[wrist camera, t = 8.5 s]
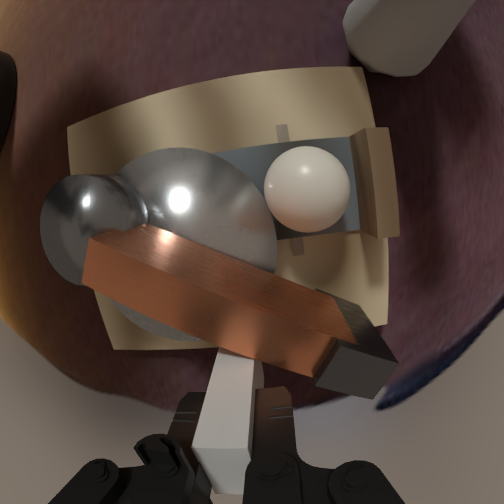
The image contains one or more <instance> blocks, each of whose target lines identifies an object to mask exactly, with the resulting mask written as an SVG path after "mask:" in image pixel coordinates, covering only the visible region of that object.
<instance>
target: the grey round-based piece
mask: <svg viewBox="0 0 504 504" xmlns="http://www.w3.org/2000/svg"><path fill="white" fill-rule="evenodd" d="M40 235H41V241H42V245H43V248H44V251H45V254H46V256H47V258H48V260H49V262H50V263H51V265H52V266H53V268H54V269H55V270H56V271H57V272H58V273H59V274H60V275H61V276H62V277H63V278H64V279H66V280H67V281H69V282H71V283H73V284H76V285H79V286H88V287H90V288H92V289H94V290H96V291H97V292H99V293H101V294H103V295H105V296H107V297H109V298H110V300H111V301H112V303H113V304H114V305H115V306H116V307H117V308H118V309H119V311H120V312H121V313H122V314H123V315H125V316H126V317H127V318H128V319H129V320H130V321H132V322H133V323H135V324H136V325H138V326H139V327H141V328H143V329H145V330H146V331H148V332H150V333H153V334H155V335H158V336H161V337H164V338H168V339H172V340H180V341H199V340H204V341H207V342H209V343H212V344H214V345H217V346H220V347H222V348H225V349H228V350H230V351H233V352H236V353H238V354H241V355H244V356H247V357H250V358H253V359H256V360H258V361H261V362H264V363H267V364H270V365H274V366H277V367H280V368H283V369H286V370H289V371H293V372H296V373H299V374H303V375H306V376H310V377H313V380H314V385H315V386H317V387H321V388H325V389H329V390H333V391H337V392H341V393H345V394H349V395H354V396H358V397H363V398H368V399H374V397H375V396H376V395H377V393H378V392H379V391H380V390H381V388H382V387H383V385H384V384H385V383H386V381H387V380H388V379H389V377H390V376H391V374H392V373H393V372H394V370H395V369H396V367H397V366H398V364H399V363H398V361H397V359H396V358H395V356H394V355H393V353H392V352H391V350H390V349H389V347H388V346H387V344H386V343H385V341H384V340H383V338H382V337H381V336H380V334H379V333H378V331H377V330H376V328H375V327H374V325H373V324H372V322H371V321H370V320H369V318H368V317H367V315H366V314H365V312H364V311H363V310H362V308H361V307H360V305H358V304H355V303H353V302H350V301H348V300H345V299H342V298H340V297H337V296H335V295H332V294H330V293H327V292H324V291H322V290H319V289H317V288H315V290H313V289H310V288H308V287H305V286H303V285H300V284H298V283H295V282H293V281H290V280H287V279H285V278H282V277H280V276H277V275H275V274H274V273H275V269H276V263H277V237H276V231H275V226H274V221H273V217H272V214H271V211H270V210H269V208H268V206H267V203H266V200H265V198H264V196H263V194H262V193H261V192H260V190H259V189H258V187H257V186H256V185H255V183H254V182H253V181H252V180H251V179H250V178H249V177H248V176H247V175H246V174H245V173H243V172H242V171H241V170H240V169H239V168H237V167H236V166H234V165H232V164H231V163H229V162H228V161H226V160H224V159H222V158H220V157H218V156H216V155H213V154H211V153H209V152H205V151H201V150H198V149H192V148H183V147H178V148H165V149H159V150H155V151H152V152H149V153H146V154H144V155H142V156H140V157H138V158H136V159H134V160H132V161H131V162H129V163H128V164H127V165H125V166H124V167H123V168H122V169H120V170H119V171H118V172H117V173H116V174H115V175H104V174H78V175H71V176H67V177H65V178H63V179H61V180H60V181H59V182H57V183H56V184H55V185H54V186H53V187H52V189H51V190H50V191H49V193H48V195H47V196H46V199H45V201H44V204H43V207H42V211H41V216H40Z"/></svg>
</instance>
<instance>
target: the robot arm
mask: <svg viewBox="0 0 504 504" xmlns="http://www.w3.org/2000/svg"><path fill="white" fill-rule="evenodd" d="M15 89H16V68H15V63H14V60H13V58H12V57H11V56H10V55H9V54H8V53H5V52H2V51H0V150H1V147H2V144H3V142H4V138H5V135H6V132H7V128H8V125H9V121H10V117H11V113H12V108H13V103H14V97H15ZM134 450H135V451H136V453H137V454H138V456H139V457H140V458H141V460H142V461H143V463H144V464H145V465H142V466H137V467H127V468H118V467H117V465H116V464H115V463H113V462H112V461H111V460H107V459H95V460H92V461H90V462H89V463H87V464H86V465H84V466H83V467H82V468H81V470H80V471H79V472H78V473H77V474H76V475H75V476H74V477H73V478H72V479H71V480H70V481H69V482H68V483H67V484H66V485H65V486H64V487H63V489H62V490H61V491H60V492H59V493H58V494H57V495H56V496H55V497H54V498H53V499H52V500H51V501H50V502H49V503H48V504H213V503H212V501H211V499H210V494H211V488H213V490H214V492H215V493H216V494H243V503H242V504H405V503H404V501H403V500H402V499H401V498H400V496H399V495H398V493H397V492H396V491H395V489H394V488H393V487H392V485H391V484H390V482H389V481H388V480H387V478H386V477H385V476H384V474H383V473H382V471H381V470H380V469H379V468H378V467H377V466H376V465H374V464H373V463H370V462H367V461H356V460H354V461H351V462H346V463H344V464H342V465H340V466H339V467H337V468H336V469H327V468H318V467H313V466H311V465H309V464H306V463H305V462H304V461H302V460H301V458H300V457H299V455H298V453H297V449H296V440H295V429H294V418H293V408H292V398H291V394H290V393H289V392H288V390H287V389H286V388H285V387H284V386H281V387H271V388H264V374H263V367H262V362H261V361H258V360H256V359H253V358H250V357H247V356H244V355H241V354H238V353H236V352H233V351H230V350H228V349H225V348H222V347H220V346H219V349H218V353H217V356H216V360H215V364H214V367H213V371H212V374H211V378H210V381H209V385H208V389H207V392H188V393H187V394H186V395H185V396H184V397H183V398H182V399H181V400H180V402H179V405H178V407H177V410H176V413H175V415H174V418H173V422H172V423H171V426H170V429H169V431H168V434H167V435H165V434H153V435H150V436H147V437H145V438H143V439H141V440H140V441H138V442H137V444H136V445H135V446H134Z"/></svg>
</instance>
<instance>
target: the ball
mask: <svg viewBox="0 0 504 504" xmlns="http://www.w3.org/2000/svg"><path fill="white" fill-rule="evenodd" d="M350 192H351V189H350V181H349V177H348V174H347V172H346V170H345V168H344V167H343V165H342V164H341V162H340V161H339V160H338V159H337V158H336V157H335V156H333V155H332V154H330V153H329V152H327V151H325V150H323V149H320V148H317V147H311V146H301V147H296V148H293V149H290V150H288V151H286V152H284V153H283V154H281V155H280V156H279V157H278V158H276V160H275V161H274V162H273V163H272V164H271V166H270V168H269V170H268V172H267V174H266V177H265V182H264V195H265V200H266V203H267V206H268V208H269V210H270V211H271V213H272V214H273V216H274V217H275V218H276V219H277V220H278V221H279V222H280V223H282V224H283V225H285V226H286V227H288V228H290V229H292V230H295V231H299V232H307V233H309V232H317V231H321V230H324V229H326V228H328V227H330V226H332V225H333V224H335V223H336V222H337V221H338V220H339V219H340V218H341V217H342V215H343V214H344V212H345V210H346V208H347V206H348V203H349V200H350Z"/></svg>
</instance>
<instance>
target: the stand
mask: <svg viewBox="0 0 504 504" xmlns="http://www.w3.org/2000/svg"><path fill="white" fill-rule="evenodd" d="M67 139H68V153H69V164H70V174H71V175H78V174H104V175H115V174H116V173H117V172H118V171H119V170H120V169H122V168H123V167H124V166H125V165H127V164H128V163H129V162H131V161H132V160H134V159H136V158H138V157H140V156H142V155H144V154H146V153H149V152H152V151H155V150H159V149H165V148H178V147H183V148H192V149H198V150H201V151H205V152H209V153H211V154H213V155H216V156H218V157H220V158H222V159H224V160H226V161H228V162H229V163H231V164H232V165H234V166H236V167H237V168H239V169H240V170H241V171H242V172H243V173H245V174H246V175H247V176H248V177H249V178H250V179H251V180H252V181H253V182H254V183H255V185H256V186H257V187H258V189H259V190H260V192H261V193H262V194H263V196H264V198H265V195H264V182H265V177H266V174H267V172H268V170H269V168H270V166H271V164H272V163H273V162H274V161H275V160H276V158H278V157H279V156H280V155H281V154H283V153H284V152H286V151H288V150H290V149H293V148H296V147H301V146H311V147H317V148H320V149H323V150H325V151H327V152H329V153H330V154H332V155H333V156H335V157H336V158H337V159H338V160H339V161H340V162H341V164H342V165H343V167H344V168H345V170H346V172H347V174H348V177H349V181H350V189H351V192H350V200H349V203H348V206H347V208H346V210H345V212H344V214H343V215H342V217H341V218H340V219H339V220H338V221H337V222H336V223H335V224H333V225H332V226H330V227H328V228H326V229H324V230H321V231H317V232H309V233H307V232H299V231H295V230H292V229H290V228H288V227H286V226H285V225H283V224H282V223H280V222H279V221H278V220H277V219H276V218H275V217H274V216H273V214H272V213H271V214H272V217H273V221H274V226H275V231H276V237H277V263H276V269H275V273H274V274H275V275H277V276H280V277H282V278H285V279H287V280H290V281H293V282H295V283H298V284H300V285H303V286H305V287H308V288H310V289H313V290H315V288H317V289H319V290H322V291H324V292H327V293H330V294H332V295H335V296H337V297H340V298H342V299H345V300H348V301H350V302H353V303H355V304H358V305H360V307H361V308H362V310H363V311H364V312H365V314H366V315H367V317H368V318H369V320H370V321H371V322H372V324H373V325H374V327H375V326H380V325H384V324H387V315H388V238H390V237H397V236H400V227H399V210H398V197H397V186H396V177H395V169H394V161H393V154H392V147H391V141H390V134H389V129H388V127H375V122H374V117H373V112H372V107H371V102H370V98H369V93H368V89H367V85H366V80H365V76H364V72H363V69H362V67H310V68H294V69H283V70H273V71H264V72H256V73H249V74H242V75H236V76H230V77H224V78H219V79H214V80H209V81H204V82H200V83H195V84H191V85H187V86H183V87H179V88H175V89H171V90H167V91H164V92H160V93H157V94H153V95H150V96H147V97H144V98H141V99H137V100H134V101H131V102H128V103H126V104H123V105H120V106H117V107H114V108H112V109H109V110H106V111H104V112H101V113H99V114H96V115H94V116H91V117H89V118H87V119H84V120H82V121H80V122H77V123H75V124H73V125H71V126H68V127H67ZM94 292H95V296H96V299H97V302H98V306H99V309H100V312H101V315H102V318H103V321H104V324H105V327H106V330H107V333H108V335H109V338H110V341H111V343H112V346H113V349H114V350H170V349H196V348H214V347H219V346H217V345H214V344H212V343H209V342H207V341H204V340H199V341H180V340H172V339H168V338H164V337H161V336H158V335H155V334H153V333H150V332H148V331H146V330H145V329H143V328H141V327H139V326H138V325H136V324H135V323H133V322H132V321H130V320H129V319H128V318H127V317H126V316H125V315H123V314H122V313H121V312H120V311H119V309H118V308H117V307H116V306H115V305H114V304H113V303H112V301H111V300H110V298H109V297H107V296H105V295H103V294H101V293H99V292H97V291H96V290H94Z"/></svg>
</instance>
